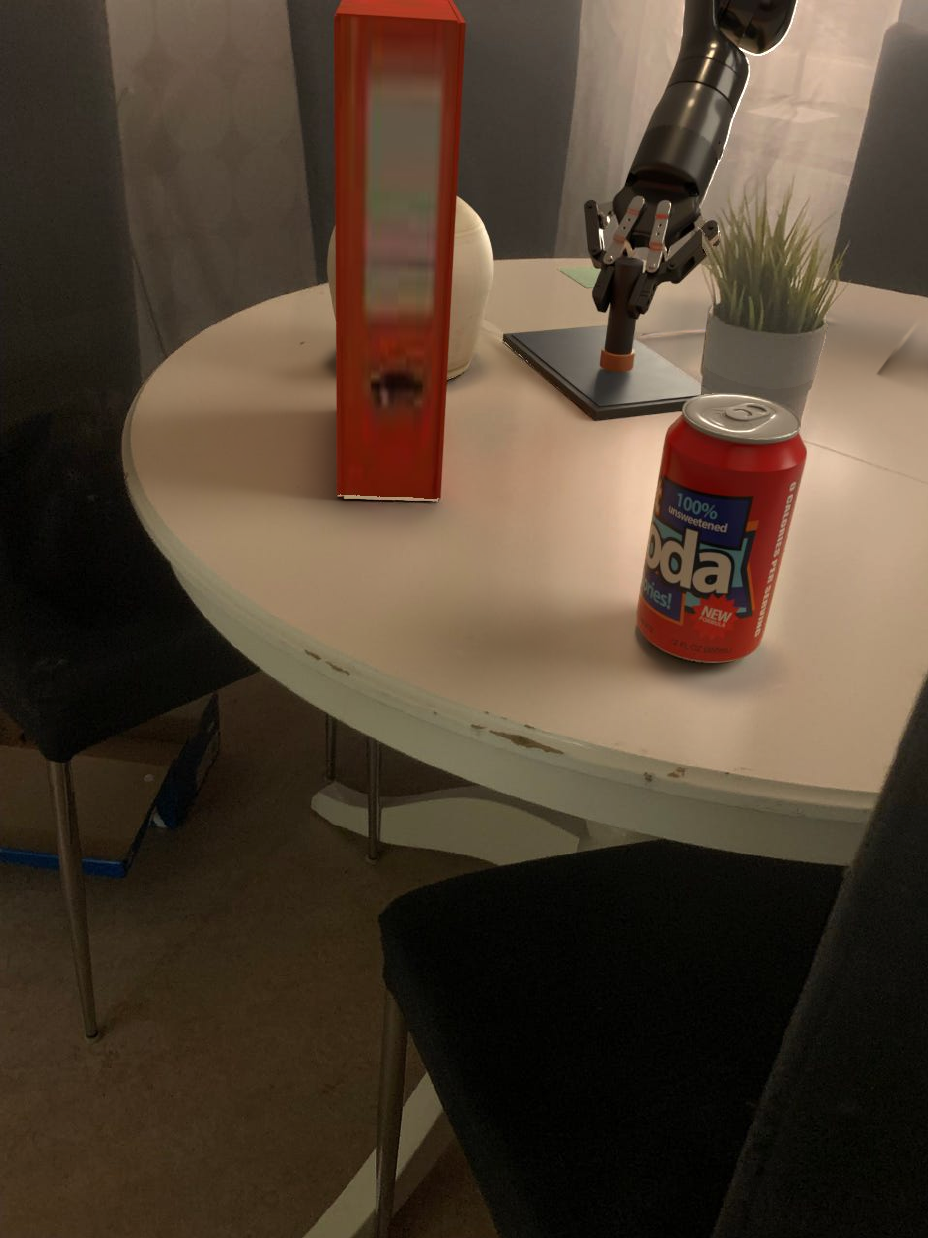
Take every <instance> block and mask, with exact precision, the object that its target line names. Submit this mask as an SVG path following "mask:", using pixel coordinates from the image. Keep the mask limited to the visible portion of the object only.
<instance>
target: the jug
mask: <svg viewBox="0 0 928 1238" xmlns="http://www.w3.org/2000/svg"><path fill="white" fill-rule="evenodd" d="M326 273H327V281H328V288H329V293H330V297H331V304H332V309H333V314H334V318H335V320H336V246H335V226H334V227H333V230H332V232H331V236H330V240H329V243H328V249H327V262H326ZM493 278H494V255H493V247H492V243H491V241H490V236H489V234H488V231H487V228H486V226H485V223H484V222H483V221H482V218H481V217H480V216H479V214H478V213H477V212H476V211H475V210H474V209H473V207H472V206H470V205H469V204H468V203H467V202H466V201H464V200H463V199H462V198H461V197H459V196H458V195H457V200H456V218H455V237H454V256H453V275H452V293H451V312H450V331H449V350H448V369H447V379H449V378H452V377H455V376H458V375H460V374H461V375H462V373H463V372H464V373H465V372H466V371H468V369H469V367H470V364H471V360H472V359H473V357H474V354H475V351H476V348H477V345H478V342H479V338H480V334H481V331H482V326H483V324H484V318H485V314H486V310H487V306H488V301H489V298H490V295H491V289H492V285H493V280H494V279H493ZM464 373H463V374H464ZM461 375H460V376H461ZM458 377H459V376H458Z"/></svg>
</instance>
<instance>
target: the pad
mask: <svg viewBox="0 0 928 1238" xmlns="http://www.w3.org/2000/svg"><path fill="white" fill-rule="evenodd" d="M557 270H558V271H559V272H561V273H562V274H564V275H565V276H567V277H568V278H570V279H571V280H573V281H574V282H576V283H577V284H579V285H580V286H582V287H583V288H586V289H593V288H594V285H595V283H596V280H597V278H598V276H599V273H600V271H601V269H596V268H594V266H581V267H568V268H565V267H564V268H557Z"/></svg>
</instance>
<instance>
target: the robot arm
mask: <svg viewBox="0 0 928 1238" xmlns="http://www.w3.org/2000/svg"><path fill="white" fill-rule="evenodd" d="M797 4H798V0H684V3H683V13H682V29H681V30H682V31H681V39H680V45H679V51H678V55H677V59H676V61H675V64H674V67H673V69H672V72H671V74H670V77H669V80H668V82H667V84H666V87H665V89H664V92H663V94H662V96H661V98H660V99H659V102H658V103H657V104H656V107H655V108H654V110H653V111H652V114H651V117H650V119H649V121H648V124H647V126H646V129H645V131H644V133H643V135H642V138H641V140H640V143H639V145H638V148H637V151H636V154H635V155H634V158H633V160H632V163H631V165H630V168H629V170H628V173H627V176H626V179H625V182H624V185H623V187H622V188H621V189H620V190H619V191H618V192H616V194H615V195H614V197H613V199H612V200H611V201H607V202H603V203H599V204H597V201H596V200H594V199H589V200H587V201H586V202H584V204H583V210H584V212H583V213H584V221H585V232H586V233H585V235H586V243H587V244H586V245H587V252H588V255H589V258H590V261H591V264H592V267H594V268H596V269H601V271H600V273H599V276H598V278H597V280H596V283H595V285H594V288H592V291H591V298H592V300H593V303H594V305H595V308H596V310H597V312H599V313H603V314H607V312H608V309H609V308H610V300H611V292H612V284H613V275H614V267H615V260H616V259H617V258H621V257H632V258H634V255H636V252H637V250H638V249H640V248H641V249H643V248H647V249H648V254H647V258H646V262H645V266H644V267H645V269H644V271H643V272H640V275H639V277H638V280H637V283H636V285H635V288H634V290H633V293H632V295H631V298H630V300H629V303H628V306H627V311H628V314H629V317H630V318H631V319H636V321H638V320H639V318H640V316H641V315H645V314H646V313H647V312H648V311H649V309H650V306H651V304H652V301H653V298H654V296H655V293H656V291H657V289H658V287H659V286H660V285H661V284H664V283H669V282H670V283H671V284H672V285H678V284H680V283H681V282H683V280H684V279H685V278H687V276H689V275H690V273H692V272H693V271H694V270H695V269H696V268H697V267H698V266H699V265H700V264H701V263H702V262H703V261H704V260H705V259H706V258H707V257H708V256H707V255H706V253H705V251H704V249H703V247H702V232H701V230H700V228H699V226H700V227H701V229H702V230H703V232H704V233H705V236H706V237H707V238H708V240H709V241H710V242H711V244H712V245H713V246H716V248H717V247H718V246H719V245H720V244H721V239H720V240H719V232H720V228H719V223H718V221H716V220H713V219H710V220H707V219H705V218H704V216H703V217H702V211H701V209H702V205H703V204H704V202H705V199H706V196H707V194H708V191H709V188H710V186H711V183H712V181H713V179H714V176H715V173H716V170H717V168H718V166H719V163H720V162H721V161H722V159H723V156H724V153H725V147H726V146H727V143H728V140H729V135H730V132H731V127H732V123H733V120H734V118H735V115H736V113H737V110H738V108H739V106H740V103H741V101H742V100H741V99H742V98H743V95H744V93H745V90H746V88H747V85H748V83H749V82H748V81H749V78H750V73H751V72H750V71H751V68H750V67H751V66H750V63H749V62H750V61H749V60H748V58H747V56H746V54H745V53H747V54H750V55H753V56H762V55H763V56H764V55H765V54H768V53H769V52H771V51H773V50H774V49H775V48H776V47H778V45H780V44H781V43H782V41H783V40H784V38H785V37H786V36H787V34H788V32H789V29H790V28H791V25H792V22H793V18H794V15H795V13H796V7H797ZM744 52H745V53H744ZM613 216H615V218H616V222H617V225H618V227H617V228H616V230H615V231H614V233H613V236H612V242H610V243H611V244H610V245H609V247H608V249H607V250H605V241H604V233H603V231H605V230H606V229H607V228H608V226H609V225H610V220H611V218H613ZM690 233H691V234H690ZM688 234H690V236H691V237H690V238H689V239H688V240H687V241H686V242H685V243H684V244H682V246H681V247H680V248H678V250H677V251H675V253H674V254H673V255H672V256H671V252H672V248H673V246H674V245H675V244H676V243H678V242H679V241H681V240H682V239H683V238H684V237H686V236H687V235H688ZM719 243H720V244H719Z"/></svg>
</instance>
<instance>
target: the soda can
mask: <svg viewBox="0 0 928 1238" xmlns="http://www.w3.org/2000/svg"><path fill="white" fill-rule="evenodd" d="M801 428H802V420H801V419H800V417H799V416H798V415H797V413H795V412H794V411H793V410H792V409H790V408H789V407H787V406H785V405H783V404H780V403H779V402H775V401H773V400H770V399H767V398H763V397H761V396H760V397H759V396H755V395H750V394H745V393H744V394H743V393H733V392H714V393H712V394H704V395H700V396H696V397H693V398H691V399H689V400H688V401H687V402H686V403H685V404H684V405H683V408H682V410H681V414H680V415H679V417H677V419H676V420H675V421H673V423H671V424H670V425H669V426H668V428H667V430H666V432H665V436H664V442H663V447H662V452H661V460H660V465H659V470H658V471H659V472H658V478H657V483H656V484H657V485H656V488H655V496H654V502H653V503H654V504H653V508H652V514H651V520H650V526H649V532H648V539H647V544H646V545H647V546H646V550H645V551H646V552H645V558H644V564H643V570H642V576H641V580H640V581H641V583H640V589H639V595H638V600H637V607H636V624H637V627H638V629H639V630H640V631H639V632H641V634H642V635H643V636H644V638H645V639H646V640H647V641H648V642H650V643H651V645H653V646H655V647H656V648H658V649H659V650H661V651H663V652H664V653H666V654H669V655H671V656H674V657H676V658H679V659H681V658H682V660H685V659H686V660H685V661H689V660H690V661H689V662H693V661H695V662H694V663H701V662H703V663H702V664H722V663H730V662H734V661H738V660H740V659H743V658H746V657H747V656H749V655H751V654H752V653H753V652H755V651H756V650H757V649H758V647H759V646H760V644H761V642H762V640H763V638H764V635H765V630H766V626H767V623H768V618H769V615H770V611H771V606H772V602H773V598H774V594H775V589H776V586H777V582H778V577H779V573H780V570H781V565H782V561H783V557H784V552H785V549H786V545H787V540H788V537H789V532H790V528H791V525H792V520H793V516H794V511H795V507H796V504H797V500H798V496H799V491H800V488H801V483H802V480H803V479H802V478H803V475H804V471H805V466H806V462H807V456H808V451H807V447H806V444H805V442H804V440H803V438H802V436H801V434H800V430H801Z"/></svg>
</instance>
